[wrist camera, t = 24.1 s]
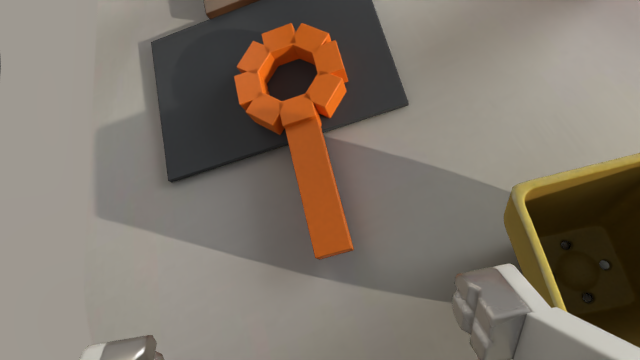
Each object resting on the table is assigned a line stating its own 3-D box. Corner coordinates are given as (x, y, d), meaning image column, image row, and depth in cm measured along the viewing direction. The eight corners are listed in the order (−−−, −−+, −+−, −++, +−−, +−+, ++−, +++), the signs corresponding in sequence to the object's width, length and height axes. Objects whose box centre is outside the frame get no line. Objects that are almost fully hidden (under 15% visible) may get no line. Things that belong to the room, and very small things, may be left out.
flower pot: (477, 218, 26) (508, 184, 18) (617, 184, 25) (722, 130, 16) (525, 358, 23) (589, 397, 15) (685, 329, 22) (854, 354, 14)
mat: (171, 182, 32) (168, 180, 32) (154, 45, 37) (150, 41, 36) (408, 105, 29) (408, 102, 29) (358, -34, 34) (358, -39, 33)
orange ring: (281, 270, 28) (271, 269, 26) (238, 59, 33) (227, 46, 32) (396, 239, 27) (395, 235, 25) (331, 25, 32) (326, 9, 30)
